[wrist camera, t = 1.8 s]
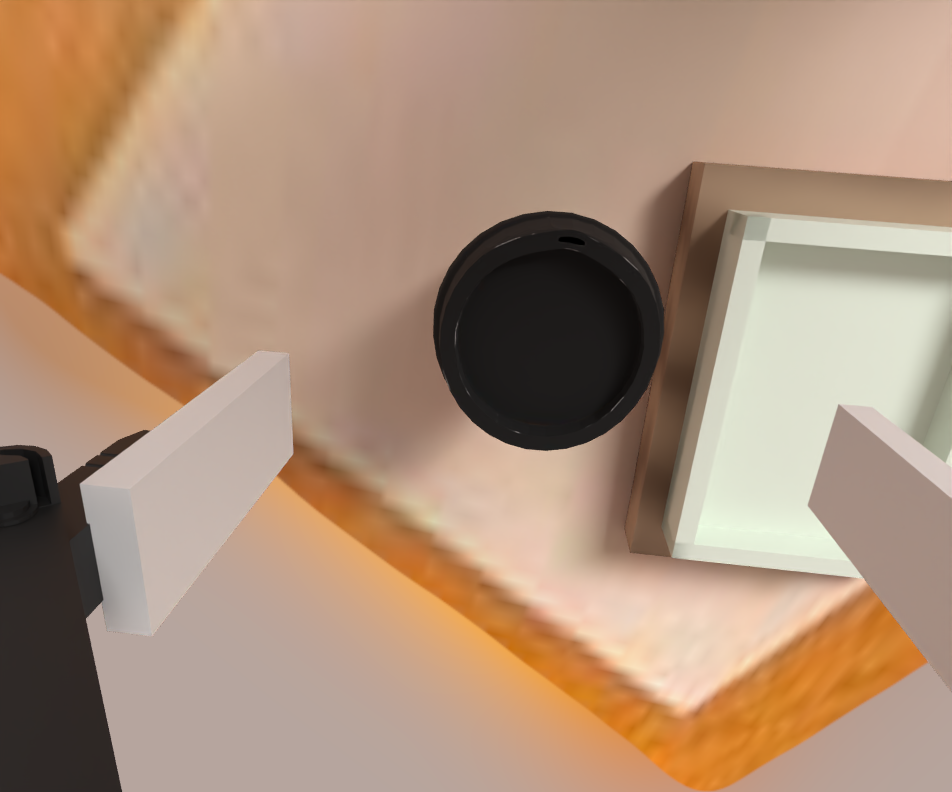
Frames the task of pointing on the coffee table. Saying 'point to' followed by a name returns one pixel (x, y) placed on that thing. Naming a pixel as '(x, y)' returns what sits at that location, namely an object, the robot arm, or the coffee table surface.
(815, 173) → the shelf board
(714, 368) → the tray
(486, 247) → the coffee cup
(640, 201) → the coffee table surface
